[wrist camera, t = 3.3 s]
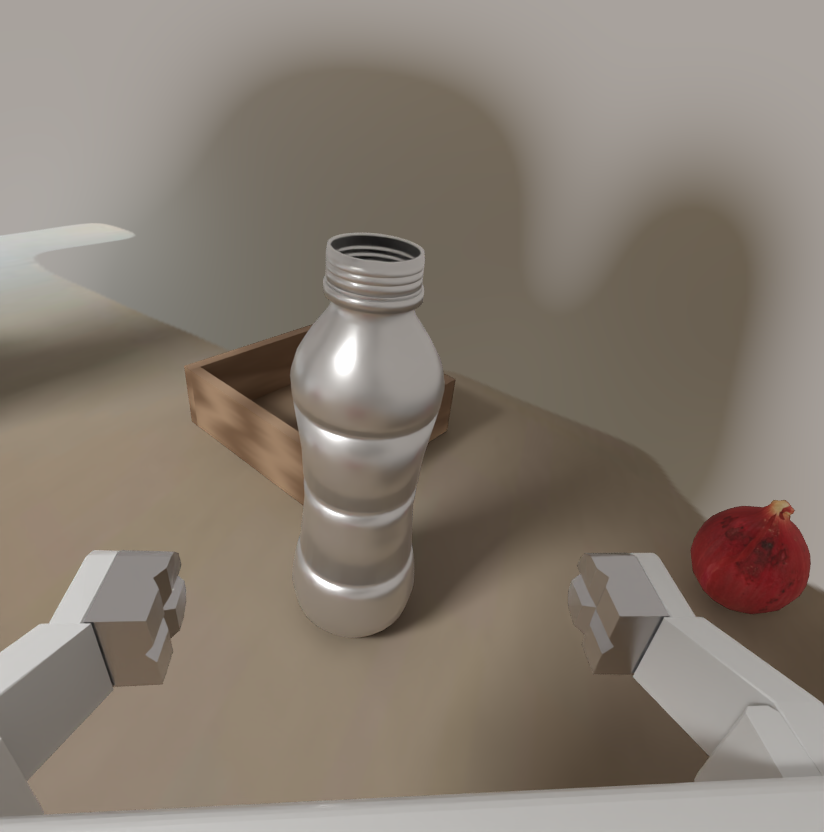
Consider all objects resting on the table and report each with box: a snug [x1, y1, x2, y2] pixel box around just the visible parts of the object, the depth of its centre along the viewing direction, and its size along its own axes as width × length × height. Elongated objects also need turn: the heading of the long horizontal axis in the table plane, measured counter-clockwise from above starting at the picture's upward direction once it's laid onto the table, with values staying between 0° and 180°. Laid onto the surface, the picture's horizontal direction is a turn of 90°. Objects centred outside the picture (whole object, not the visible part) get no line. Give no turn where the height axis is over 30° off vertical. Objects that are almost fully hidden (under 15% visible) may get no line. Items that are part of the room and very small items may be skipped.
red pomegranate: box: [691, 500, 811, 614], centre depth 31 cm, size 6×6×8 cm
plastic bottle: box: [290, 233, 445, 638], centre depth 25 cm, size 6×7×20 cm
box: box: [184, 324, 455, 506], centre depth 43 cm, size 15×15×5 cm
